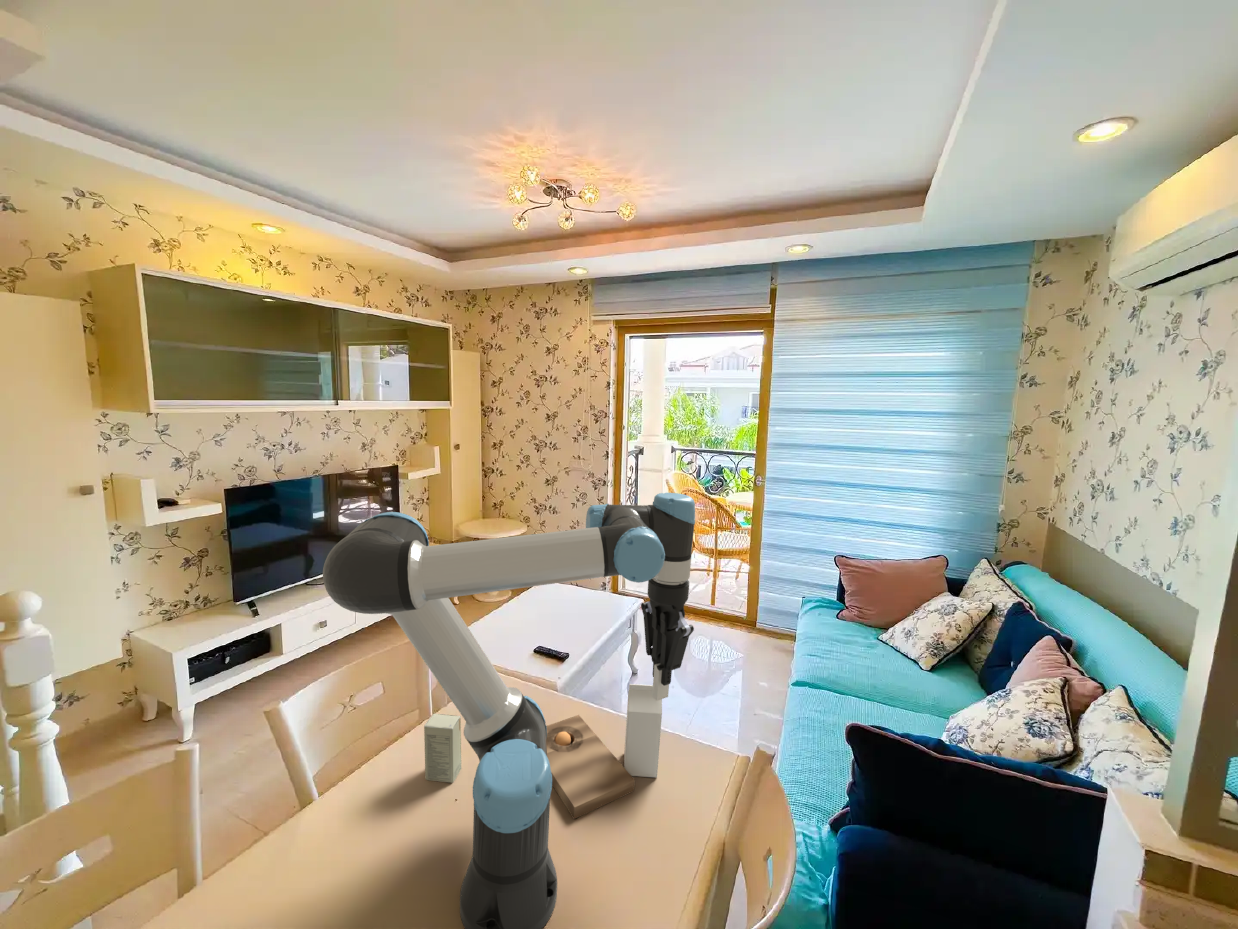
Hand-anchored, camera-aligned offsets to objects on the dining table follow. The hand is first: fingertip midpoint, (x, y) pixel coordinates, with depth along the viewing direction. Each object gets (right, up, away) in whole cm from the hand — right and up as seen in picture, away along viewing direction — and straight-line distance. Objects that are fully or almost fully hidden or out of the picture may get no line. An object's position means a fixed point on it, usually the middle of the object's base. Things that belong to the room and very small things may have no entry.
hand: (660, 696), depth 95 cm
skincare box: (-45, -21, +10) cm, 50 cm away
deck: (-17, -22, +14) cm, 31 cm away
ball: (-21, -19, +19) cm, 34 cm away
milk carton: (-3, -23, +16) cm, 28 cm away
